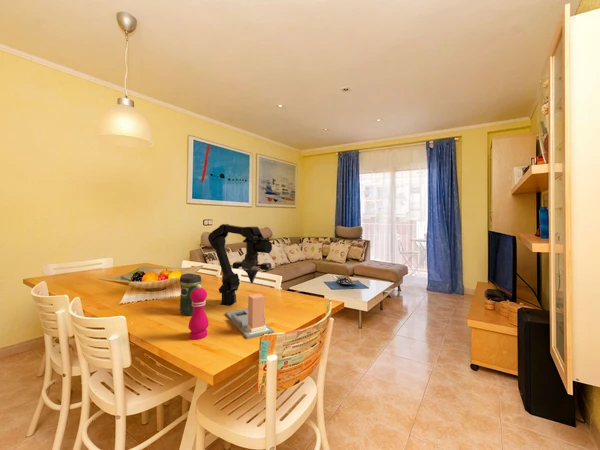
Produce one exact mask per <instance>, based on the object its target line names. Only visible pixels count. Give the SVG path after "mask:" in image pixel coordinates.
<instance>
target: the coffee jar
mask: <svg viewBox="0 0 600 450" xmlns="http://www.w3.org/2000/svg"><path fill="white" fill-rule="evenodd" d="M201 276H202V275H200V274H196V273H195V274H194V273H182V274H181V275H180V277H179V285H180V286H179V287H180V302H179V313H180V314H183V315H184V316H192V314H193V306H192V299H191V298H190V295H191V292H192V291H193V290H194V289H196V286H197V285H198V284H200V285H201V286H202V277H201Z"/></svg>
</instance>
